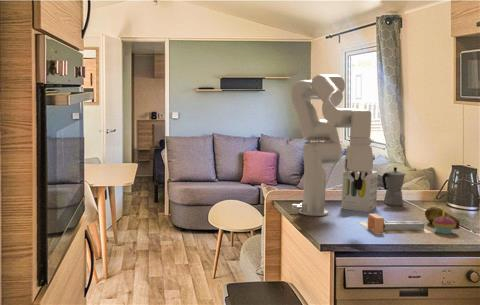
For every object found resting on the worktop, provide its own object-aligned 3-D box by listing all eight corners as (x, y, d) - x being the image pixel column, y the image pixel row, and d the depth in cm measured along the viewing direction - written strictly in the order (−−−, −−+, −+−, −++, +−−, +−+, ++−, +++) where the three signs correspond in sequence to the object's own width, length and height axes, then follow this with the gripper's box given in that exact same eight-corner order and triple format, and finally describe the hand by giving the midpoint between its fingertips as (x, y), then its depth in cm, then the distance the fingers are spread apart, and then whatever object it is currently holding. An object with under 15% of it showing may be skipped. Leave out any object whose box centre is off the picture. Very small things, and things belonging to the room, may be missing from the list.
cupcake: (428, 232, 212) (430, 201, 211) (448, 232, 213) (451, 202, 212) (437, 237, 204) (440, 206, 202) (459, 238, 204) (461, 206, 203)
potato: (451, 232, 213) (453, 212, 212) (421, 226, 222) (422, 207, 221) (461, 229, 218) (462, 209, 217) (430, 223, 227) (432, 204, 227)
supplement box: (340, 208, 251) (342, 171, 250) (349, 204, 263) (351, 168, 261) (368, 212, 245) (370, 174, 243) (376, 207, 257) (378, 171, 255)
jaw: (387, 229, 209) (387, 222, 209) (385, 228, 211) (385, 221, 210) (421, 229, 211) (421, 222, 211) (419, 227, 213) (419, 220, 213)
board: (375, 236, 203) (375, 233, 203) (357, 225, 221) (357, 222, 220) (432, 235, 207) (432, 232, 206) (410, 224, 224) (410, 221, 224)
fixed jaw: (382, 231, 206) (383, 222, 206) (378, 228, 210) (379, 219, 210) (424, 230, 209) (424, 221, 209) (419, 228, 213) (419, 219, 213)
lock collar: (375, 232, 204) (376, 218, 204) (367, 227, 212) (368, 213, 211) (382, 232, 205) (383, 218, 204) (374, 227, 212) (375, 213, 212)
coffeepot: (394, 200, 275) (396, 165, 273) (409, 203, 268) (412, 167, 266) (373, 203, 267) (375, 167, 265) (388, 206, 259) (390, 169, 257)
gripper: (374, 141, 212) (372, 187, 214) (337, 141, 210) (336, 188, 211) (382, 143, 205) (380, 191, 207) (344, 142, 202) (342, 191, 204)
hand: (357, 189), depth 209 cm, fingers closed
